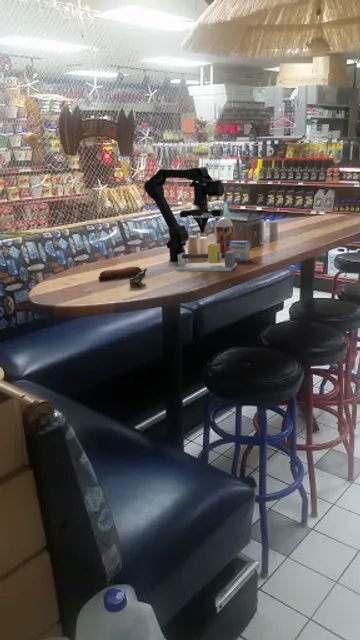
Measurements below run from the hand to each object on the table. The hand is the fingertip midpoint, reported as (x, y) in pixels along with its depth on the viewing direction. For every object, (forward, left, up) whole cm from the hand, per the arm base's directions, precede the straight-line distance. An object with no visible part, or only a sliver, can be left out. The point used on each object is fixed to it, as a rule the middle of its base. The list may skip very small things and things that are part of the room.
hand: (202, 232), depth 230 cm
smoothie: (+5, +19, -13) cm, 24 cm away
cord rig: (+5, -13, -13) cm, 19 cm away
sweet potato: (-27, -31, -14) cm, 44 cm away
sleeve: (+9, -13, -11) cm, 19 cm away
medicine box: (+16, +3, -13) cm, 21 cm away
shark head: (-11, -46, -13) cm, 49 cm away
